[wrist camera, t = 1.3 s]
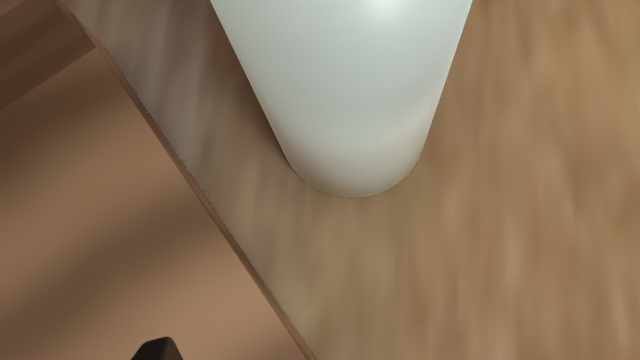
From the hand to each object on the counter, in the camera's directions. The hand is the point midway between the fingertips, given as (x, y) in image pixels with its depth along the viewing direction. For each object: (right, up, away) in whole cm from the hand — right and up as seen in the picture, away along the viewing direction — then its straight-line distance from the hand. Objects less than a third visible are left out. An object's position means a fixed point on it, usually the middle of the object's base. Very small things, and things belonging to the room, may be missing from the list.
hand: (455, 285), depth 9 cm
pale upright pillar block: (-1, +4, +15) cm, 15 cm away
